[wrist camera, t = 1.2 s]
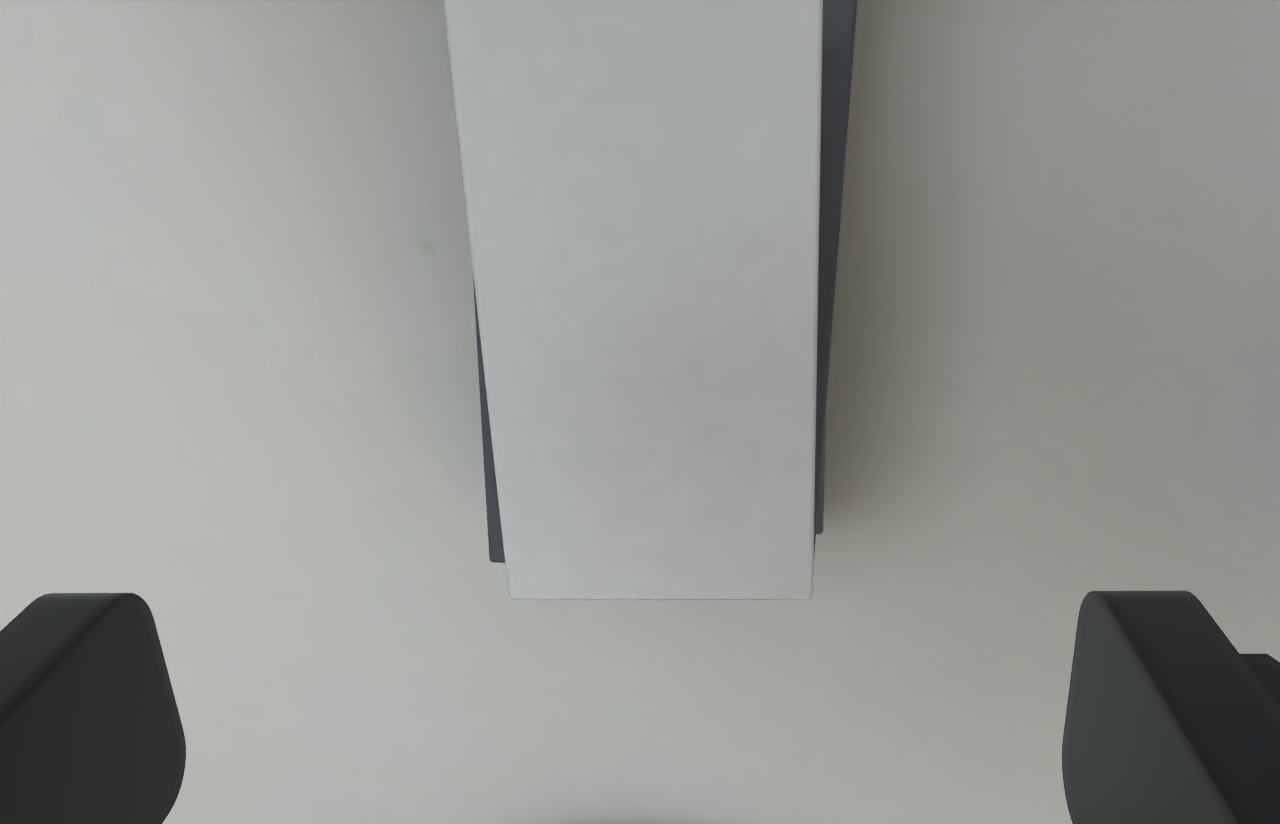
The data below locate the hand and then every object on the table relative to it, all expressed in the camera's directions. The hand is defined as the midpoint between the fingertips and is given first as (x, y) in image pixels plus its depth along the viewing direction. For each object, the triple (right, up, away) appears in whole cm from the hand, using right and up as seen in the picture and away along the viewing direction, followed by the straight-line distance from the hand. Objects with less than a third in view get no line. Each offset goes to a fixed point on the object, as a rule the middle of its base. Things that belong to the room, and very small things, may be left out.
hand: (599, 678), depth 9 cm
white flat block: (+1, +5, +11) cm, 12 cm away
